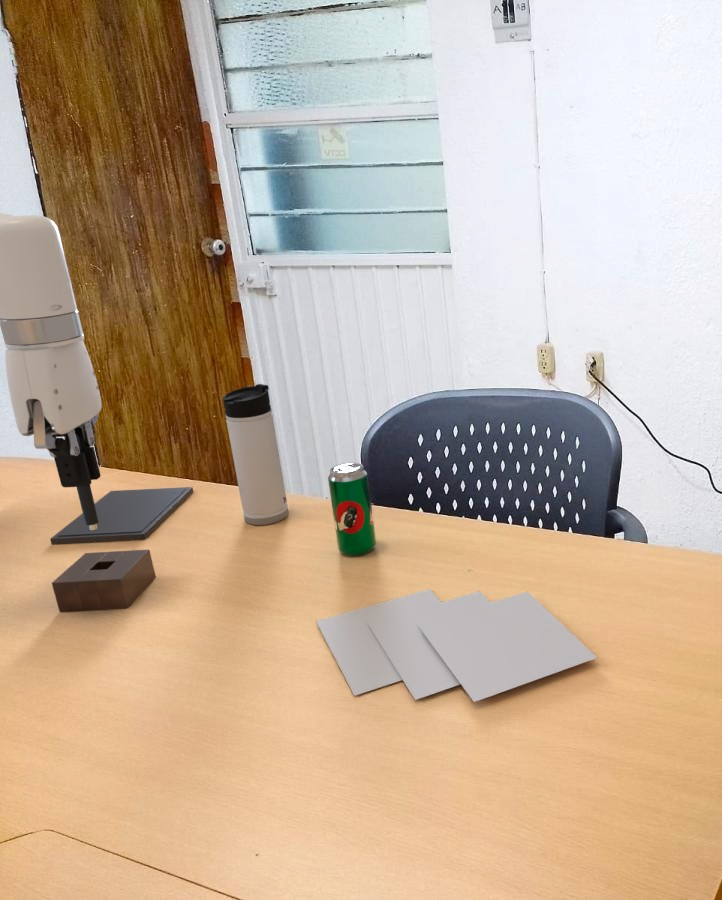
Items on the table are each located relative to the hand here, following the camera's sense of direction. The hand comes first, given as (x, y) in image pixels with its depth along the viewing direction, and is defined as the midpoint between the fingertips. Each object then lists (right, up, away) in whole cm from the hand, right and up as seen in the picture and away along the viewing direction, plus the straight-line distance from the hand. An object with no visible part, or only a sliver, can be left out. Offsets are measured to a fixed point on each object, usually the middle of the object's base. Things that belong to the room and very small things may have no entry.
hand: (81, 481), depth 99 cm
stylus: (0, -6, +2) cm, 6 cm away
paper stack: (+45, -18, -7) cm, 49 cm away
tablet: (-11, -6, +28) cm, 31 cm away
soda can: (+29, -10, +15) cm, 34 cm away
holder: (0, -14, +5) cm, 15 cm away
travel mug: (+12, -6, +27) cm, 30 cm away
